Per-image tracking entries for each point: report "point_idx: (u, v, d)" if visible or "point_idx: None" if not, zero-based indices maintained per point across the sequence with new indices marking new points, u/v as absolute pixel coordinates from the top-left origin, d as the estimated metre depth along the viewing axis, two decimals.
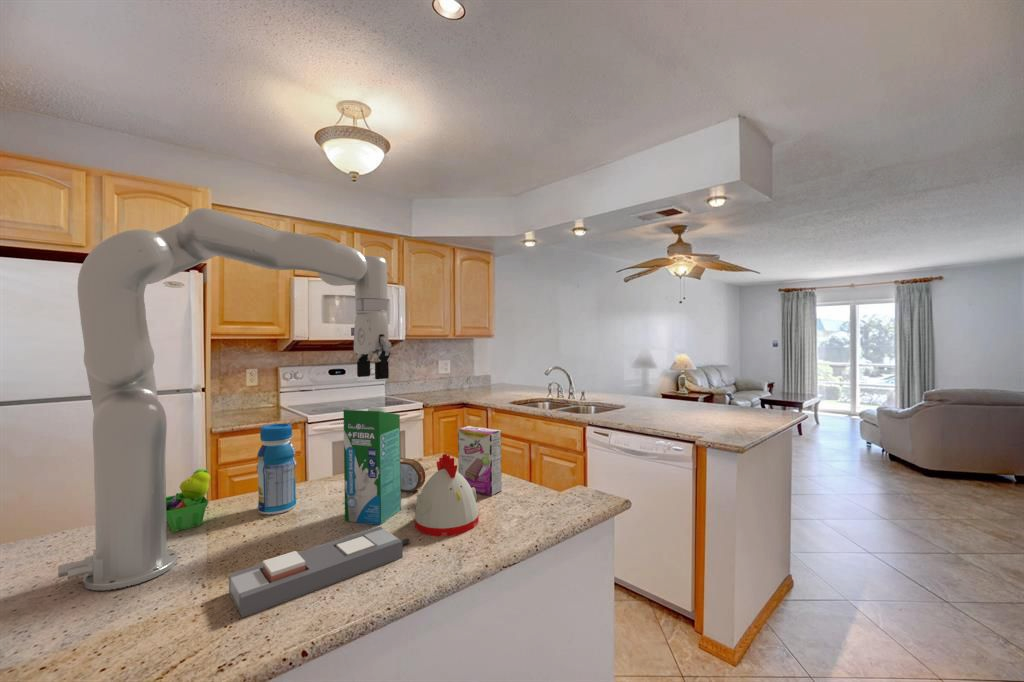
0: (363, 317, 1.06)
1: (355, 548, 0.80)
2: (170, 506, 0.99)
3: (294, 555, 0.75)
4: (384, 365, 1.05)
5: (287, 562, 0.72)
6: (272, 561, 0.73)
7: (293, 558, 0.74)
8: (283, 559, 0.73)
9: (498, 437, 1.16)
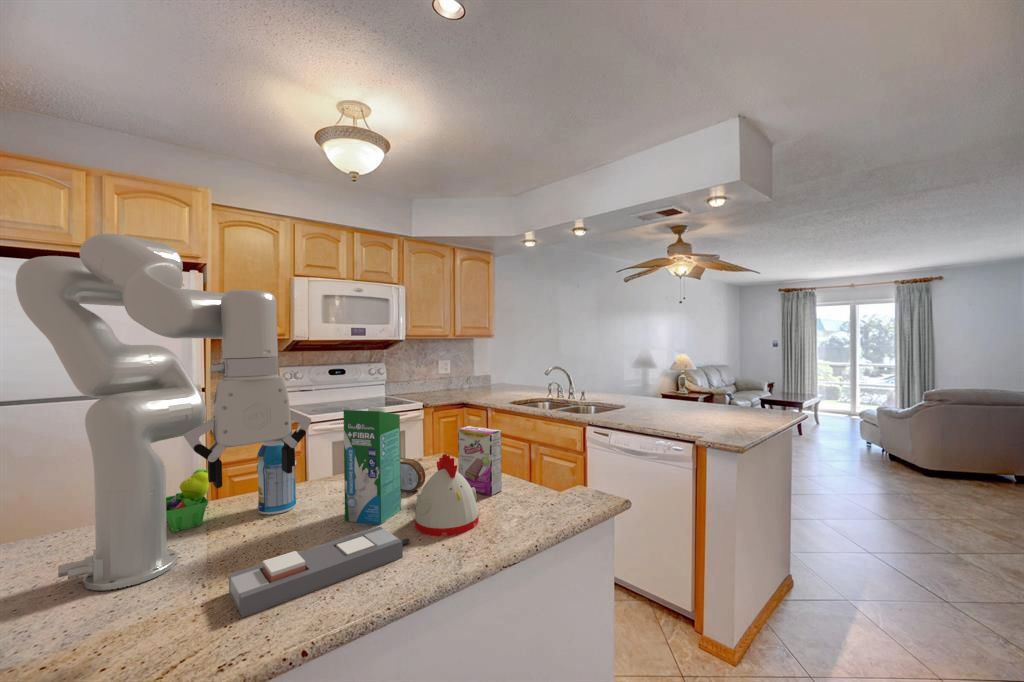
0: (266, 385, 0.69)
1: (355, 548, 0.80)
2: (170, 506, 0.99)
3: (294, 555, 0.75)
4: None
5: (287, 562, 0.72)
6: (272, 561, 0.73)
7: (293, 558, 0.74)
8: (283, 559, 0.73)
9: (498, 437, 1.16)
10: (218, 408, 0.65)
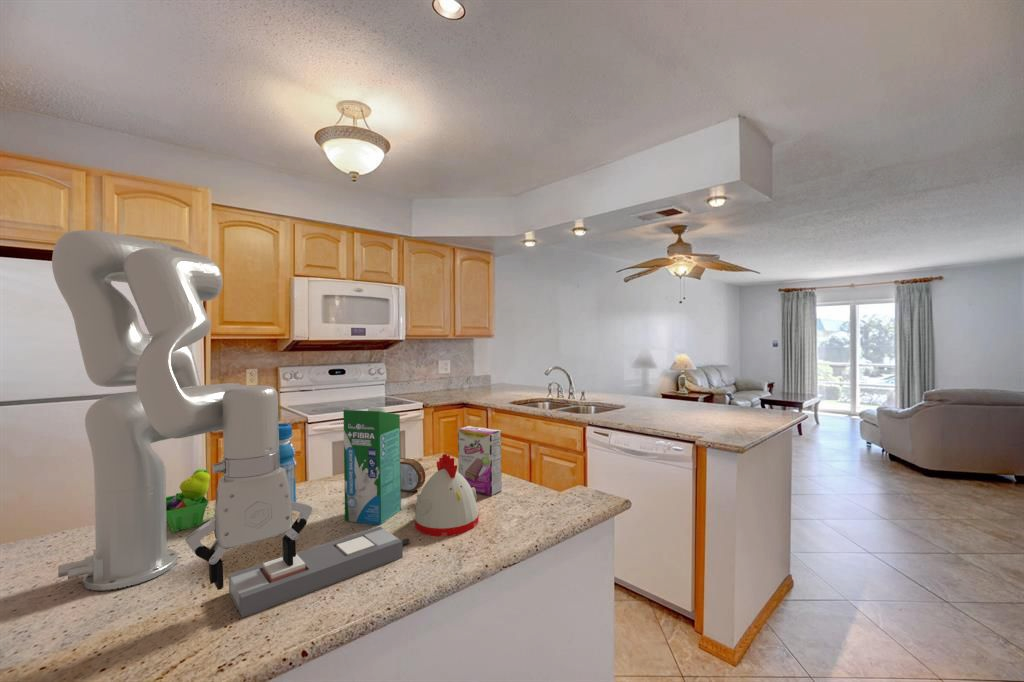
0: (267, 482, 0.69)
1: (355, 548, 0.80)
2: (170, 506, 0.99)
3: (294, 557, 0.75)
4: None
5: None
6: (272, 564, 0.73)
7: (293, 560, 0.74)
8: (283, 561, 0.73)
9: (498, 437, 1.16)
10: (219, 510, 0.65)
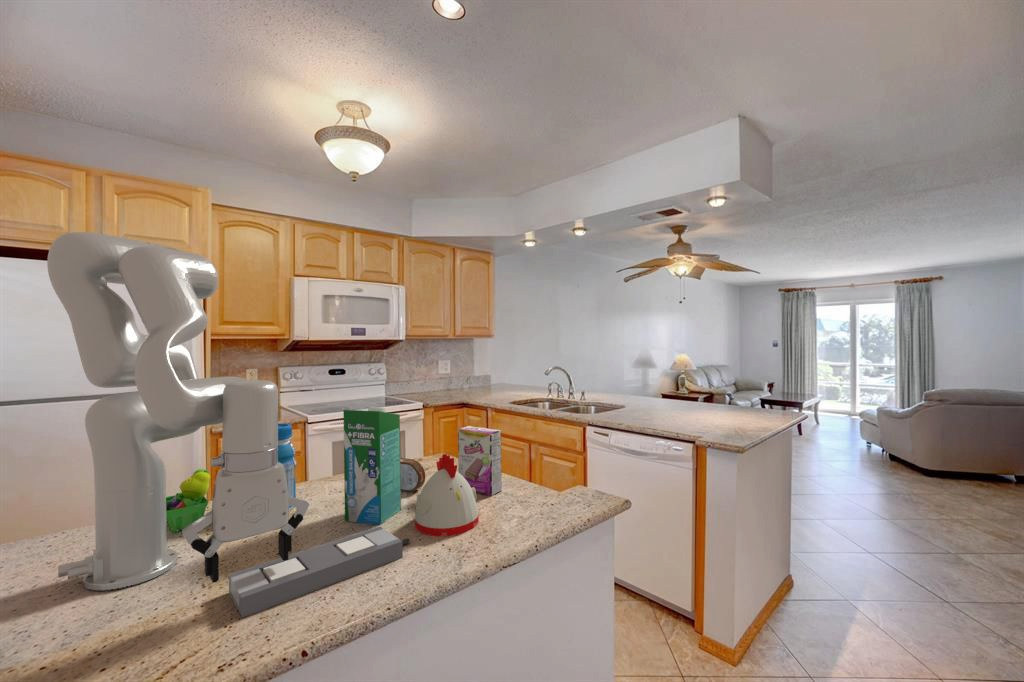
0: (265, 477, 0.69)
1: (355, 548, 0.80)
2: (170, 506, 0.99)
3: (294, 562, 0.75)
4: None
5: (287, 569, 0.72)
6: (272, 569, 0.73)
7: (293, 565, 0.74)
8: (283, 566, 0.73)
9: (498, 437, 1.16)
10: (217, 504, 0.65)
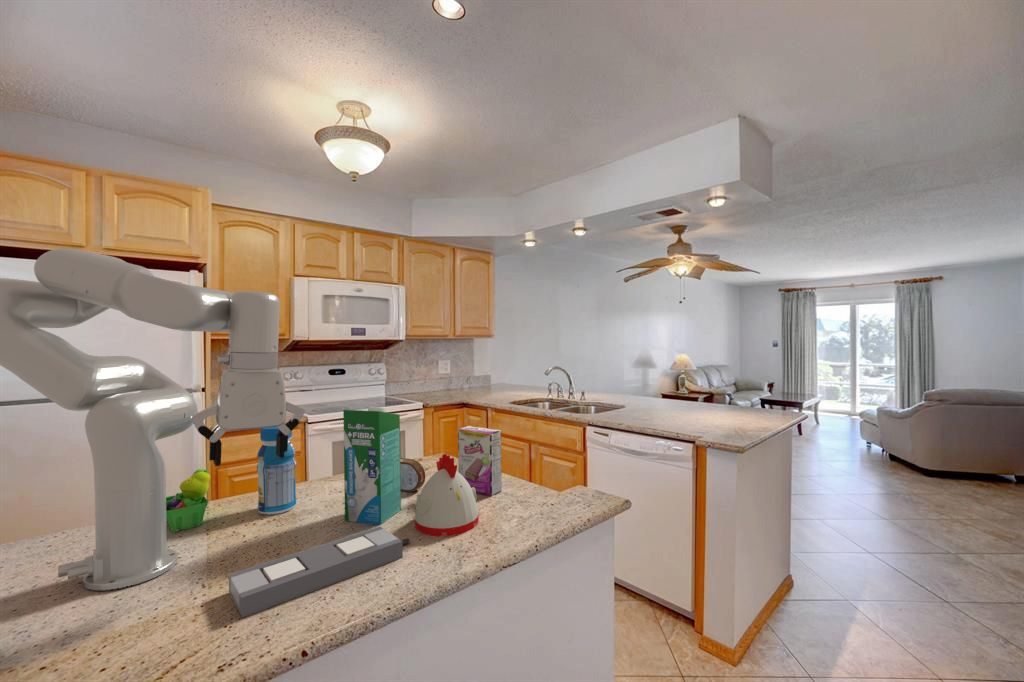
0: (265, 377, 0.77)
1: (355, 548, 0.80)
2: (170, 506, 0.99)
3: (294, 562, 0.75)
4: None
5: (287, 569, 0.72)
6: (272, 569, 0.73)
7: (293, 565, 0.74)
8: (283, 566, 0.73)
9: (498, 437, 1.16)
10: (221, 395, 0.73)
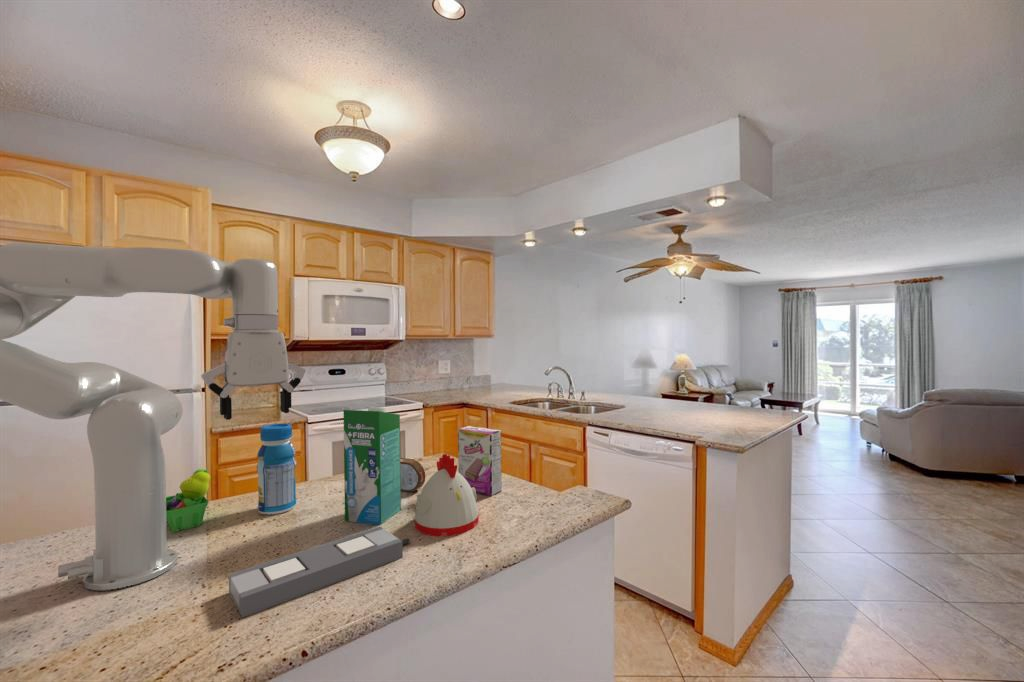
0: (268, 338, 0.83)
1: (355, 548, 0.80)
2: (170, 506, 0.99)
3: (294, 562, 0.75)
4: None
5: (287, 569, 0.72)
6: (272, 569, 0.73)
7: (293, 565, 0.74)
8: (283, 566, 0.73)
9: (498, 437, 1.16)
10: (229, 354, 0.80)
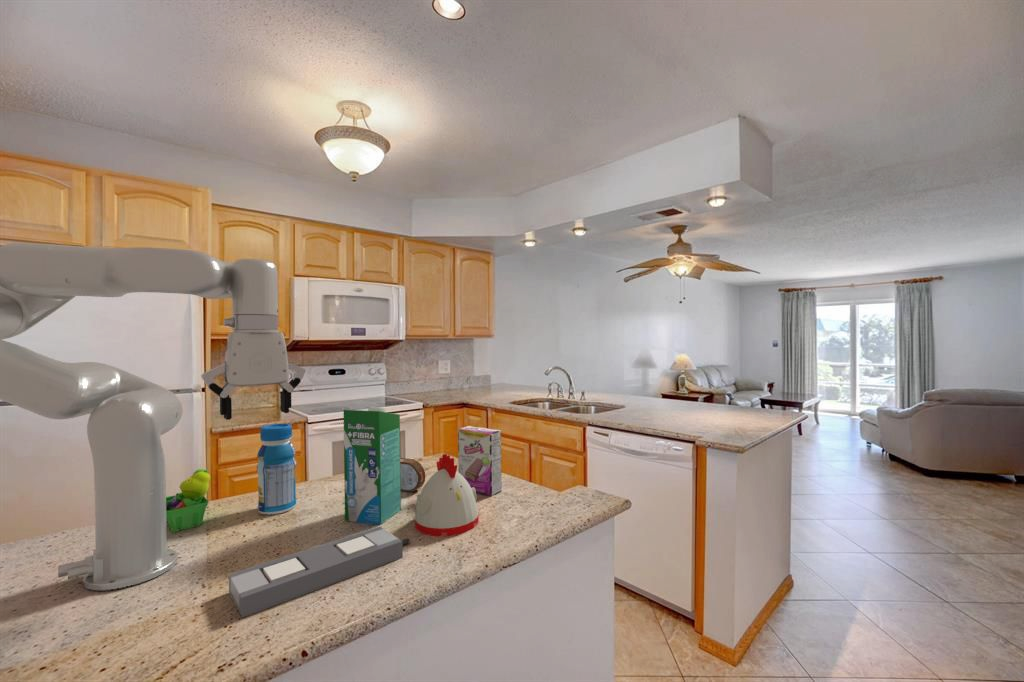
0: (268, 338, 0.83)
1: (355, 548, 0.80)
2: (170, 506, 0.99)
3: (294, 562, 0.75)
4: None
5: (287, 569, 0.72)
6: (272, 569, 0.73)
7: (293, 565, 0.74)
8: (283, 566, 0.73)
9: (498, 437, 1.16)
10: (229, 354, 0.80)
